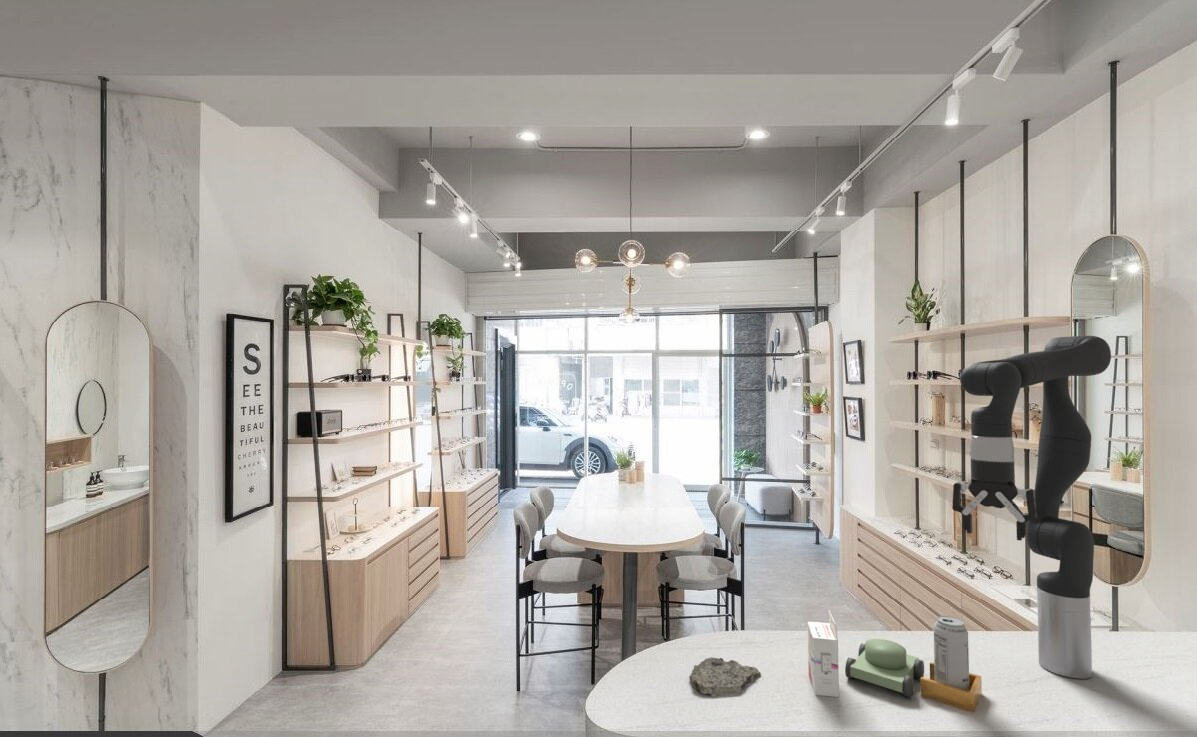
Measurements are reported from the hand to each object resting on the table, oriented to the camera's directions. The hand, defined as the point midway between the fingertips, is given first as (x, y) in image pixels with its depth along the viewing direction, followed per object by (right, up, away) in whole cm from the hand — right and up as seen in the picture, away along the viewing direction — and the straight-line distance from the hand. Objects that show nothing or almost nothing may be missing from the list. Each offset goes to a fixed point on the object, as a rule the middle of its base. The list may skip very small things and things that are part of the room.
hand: (993, 536), depth 117 cm
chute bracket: (-10, -32, -2) cm, 33 cm away
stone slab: (-56, -33, +4) cm, 65 cm away
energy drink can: (-10, -32, -2) cm, 34 cm away
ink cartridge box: (-35, -32, +2) cm, 48 cm away
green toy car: (-20, -32, +5) cm, 38 cm away
